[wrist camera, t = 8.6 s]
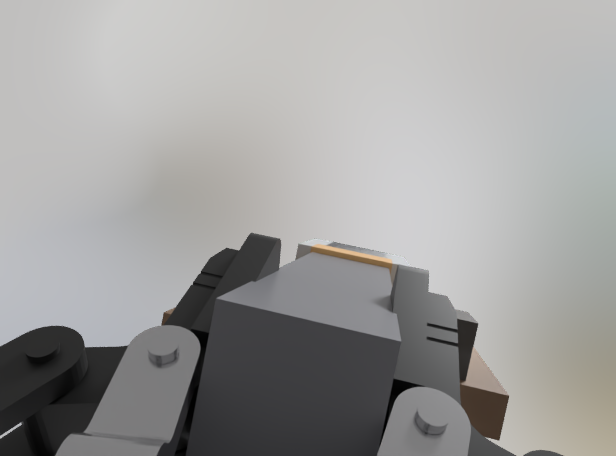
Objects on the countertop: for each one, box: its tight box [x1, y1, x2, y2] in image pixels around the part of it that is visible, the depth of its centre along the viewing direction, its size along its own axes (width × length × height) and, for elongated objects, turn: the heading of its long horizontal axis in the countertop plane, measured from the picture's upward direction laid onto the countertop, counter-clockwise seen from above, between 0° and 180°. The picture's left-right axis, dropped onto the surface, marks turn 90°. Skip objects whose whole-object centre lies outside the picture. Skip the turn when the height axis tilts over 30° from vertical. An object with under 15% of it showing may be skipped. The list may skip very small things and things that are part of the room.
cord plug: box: [186, 239, 411, 456], centre depth 18 cm, size 20×5×3 cm, turn 171°
